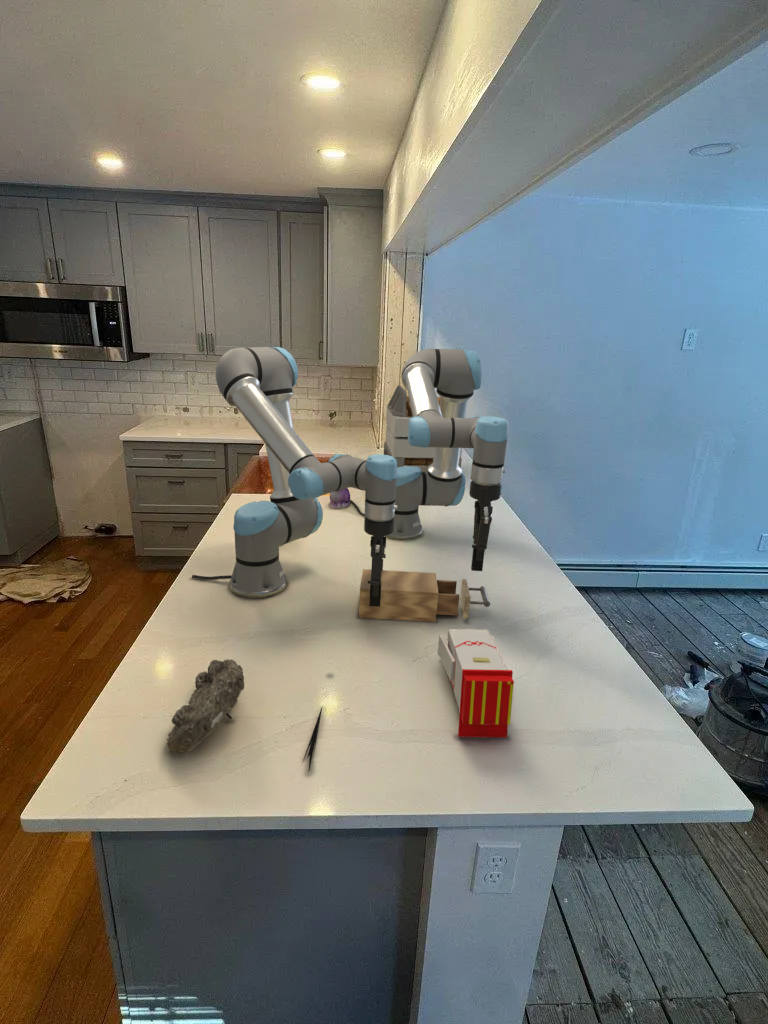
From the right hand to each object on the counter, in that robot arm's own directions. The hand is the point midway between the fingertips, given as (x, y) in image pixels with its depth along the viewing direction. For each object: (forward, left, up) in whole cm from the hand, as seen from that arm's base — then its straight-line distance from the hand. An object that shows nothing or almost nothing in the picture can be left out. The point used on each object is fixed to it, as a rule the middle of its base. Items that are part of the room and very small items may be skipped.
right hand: (476, 569), depth 145 cm
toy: (+22, -26, -13) cm, 36 cm away
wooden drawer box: (-13, -14, -13) cm, 23 cm away
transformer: (-105, +82, -13) cm, 134 cm away
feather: (+9, -55, -13) cm, 57 cm away
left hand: (-17, -19, -8) cm, 27 cm away
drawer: (-5, -6, -12) cm, 14 cm away
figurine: (-88, +22, -13) cm, 92 cm away
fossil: (-4, -71, -13) cm, 72 cm away
